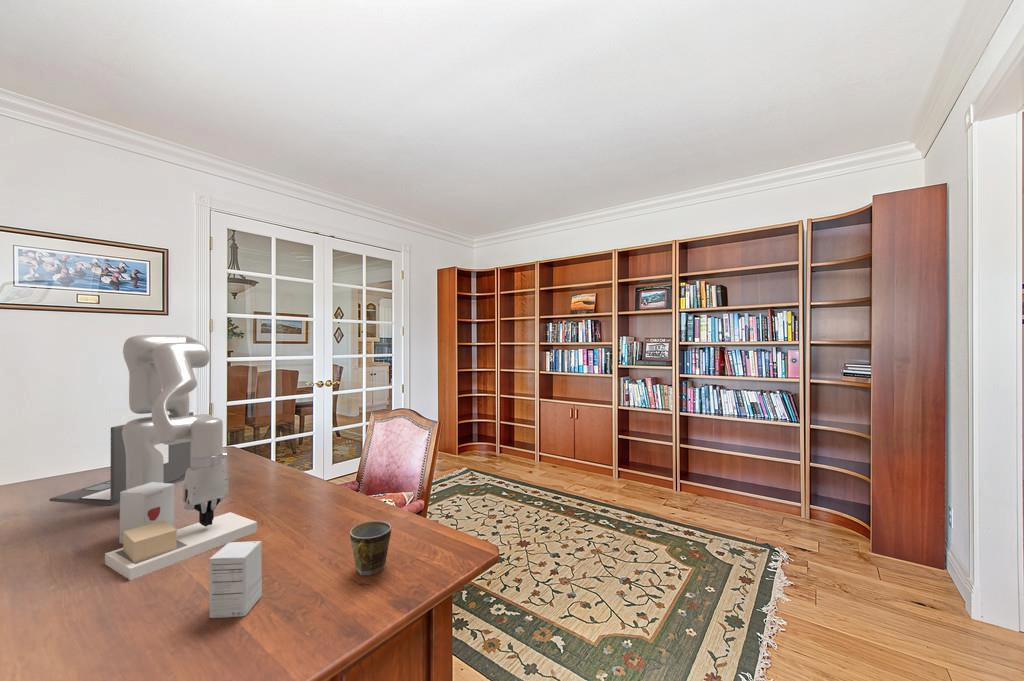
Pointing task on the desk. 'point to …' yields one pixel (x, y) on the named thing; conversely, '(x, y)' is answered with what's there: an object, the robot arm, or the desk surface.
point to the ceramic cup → (370, 546)
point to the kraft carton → (149, 540)
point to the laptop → (109, 491)
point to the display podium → (185, 545)
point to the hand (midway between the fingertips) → (206, 524)
